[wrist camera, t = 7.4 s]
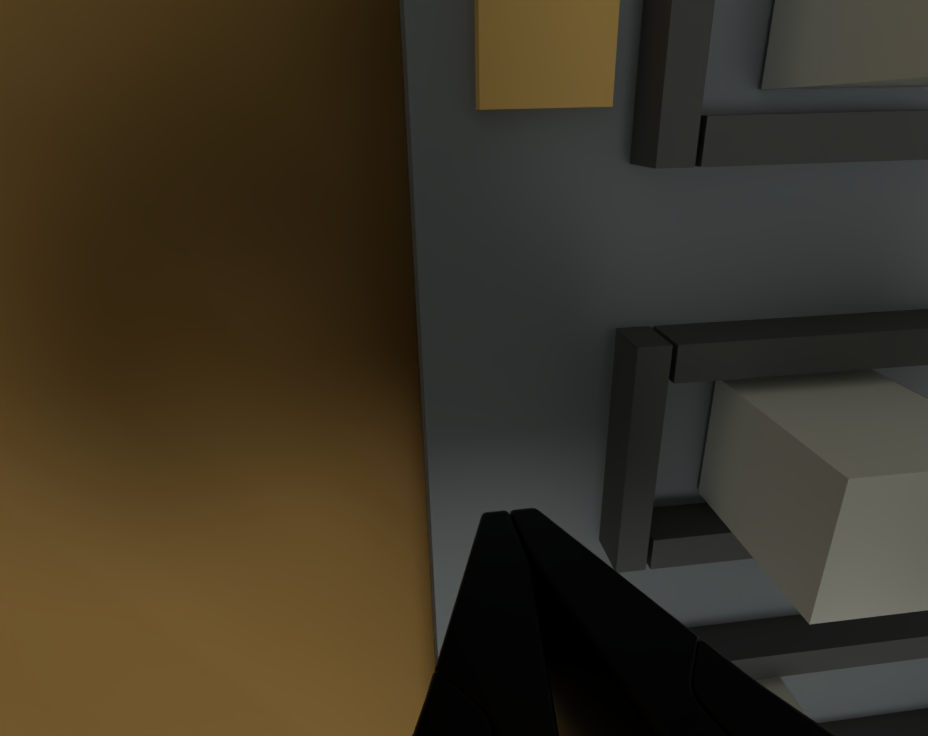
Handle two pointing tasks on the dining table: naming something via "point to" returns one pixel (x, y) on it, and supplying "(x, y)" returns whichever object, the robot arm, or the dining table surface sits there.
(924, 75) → the slider
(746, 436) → the slider
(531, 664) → the robot arm
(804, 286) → the switch unit
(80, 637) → the dining table surface
